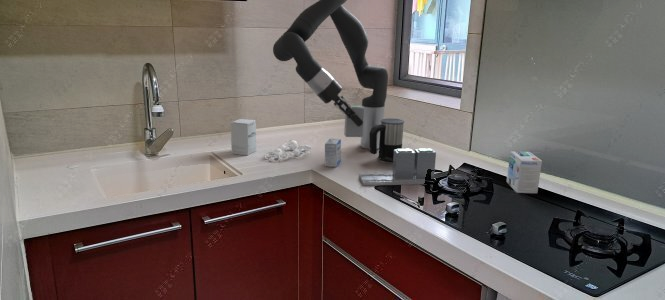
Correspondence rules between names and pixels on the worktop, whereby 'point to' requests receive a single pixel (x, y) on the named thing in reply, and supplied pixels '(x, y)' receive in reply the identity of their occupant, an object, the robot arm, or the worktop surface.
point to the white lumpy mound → (280, 152)
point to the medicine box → (332, 152)
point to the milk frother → (387, 138)
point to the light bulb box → (524, 172)
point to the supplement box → (243, 136)
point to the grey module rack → (405, 168)
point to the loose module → (350, 126)
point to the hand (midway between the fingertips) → (359, 123)
